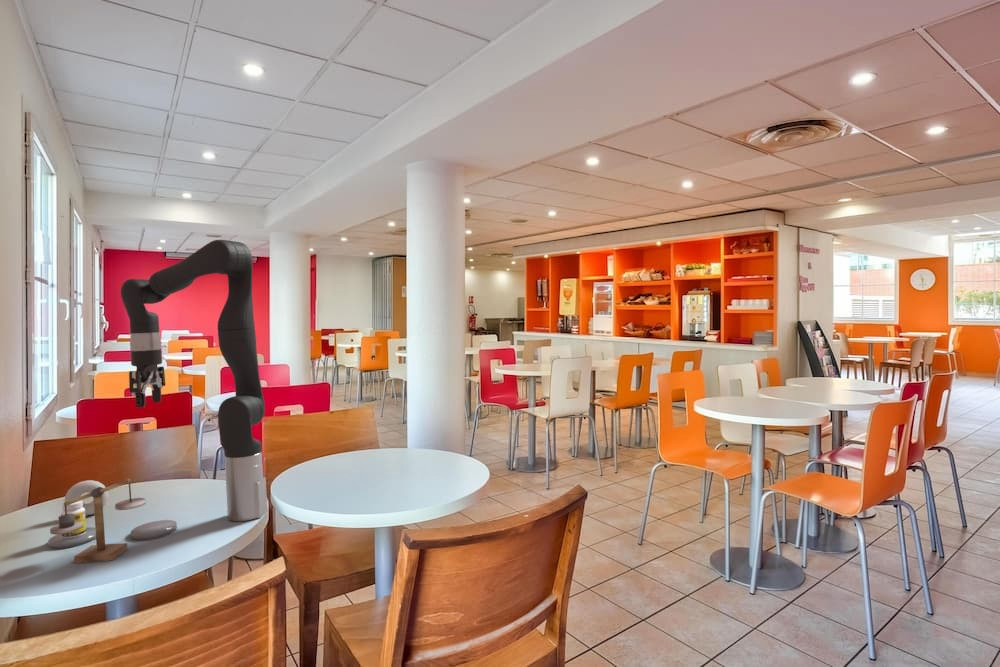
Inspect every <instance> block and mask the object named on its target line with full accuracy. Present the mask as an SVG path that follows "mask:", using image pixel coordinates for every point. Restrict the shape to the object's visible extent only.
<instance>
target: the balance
mask: <svg viewBox="0 0 1000 667" xmlns="http://www.w3.org/2000/svg"><path fill="white" fill-rule="evenodd" d="M131 482H132V479H131V478H127V479H125V480H122V481H119V482H117V483H113V484H112V485H108V486H105V488H102V487H98V488H96V489H94V490H92V491H91V493H87V494H84V495H81V496H80V497H78V498H75V499H73V500H70V501H67V502H63V503H62V504H64V507H65V515H62V516H61V515H59V516H58V524H56V525H54V526H52V527H51V528H50V529H49V531H50V534H51V535H58V534H64V533H69V532H73V531H76V530H78V529H80V528H82V527H83V522H82V521H74V514H67V507H66V506H67V505H70V504H73V503H76V502H78V501H81V500H82V501H83V500H86V499H89V498H93V500H94V513H95V514H94V525H95V526H94V528H96V539H95V541H96V542H95V543H96V544H94V545H92V544H91V545H90V546H88V547H87V548H84V550H82V551H80V552H79V553H77V554H75V555H74V557H73V560H74V562H73V563H74V564H81V563H82V562H84V563H95V561H99V562H107V561H106V560H112V561H114V560H115V559H116V558H117V557H119V556H120V555H122V554H123V553H124V552H126V551H127V550H128V543H127V542H122V543H109V544H106V538H105V521H104V507H103V502H102V495H103V494H104V492H106V491H108V492H109V491H111V490H114V489H117V488H118V487H121V486H124V485H127V484H128V492H129V493H128V494H129V498H128V499H124V500H121V501H119V502H117V503H115V505H114V508H115V510H116V511H127V510H133V509H137V508H140V507H143V506H144V505H146V504H147V499H146V498H145V497H134V498H132V488H131ZM121 553H122V554H121ZM118 555H119V556H118ZM114 558H115V559H114Z"/></svg>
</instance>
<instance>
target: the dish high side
mask: <svg viewBox="0 0 1000 667" xmlns="http://www.w3.org/2000/svg"><path fill="white" fill-rule="evenodd" d="M177 526H178V522H177V521H176V520H172V519H163V520H155V521H150V522H145V523H143V524H141V525H137V526H136V527H134V528H133V529H132V530H131V531H130V538H131V539H132V540H134V541H148V540H149V541H150V540H154V539H155V540H156V539H159V538H162V536H163V537H165V536H168V535H170V534H172V533H174V532H175V531H176V530H177V529H178V527H177ZM176 528H177V529H176ZM173 531H174V532H173ZM171 532H172V533H171ZM167 534H168V535H167ZM158 537H159V538H158Z"/></svg>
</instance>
